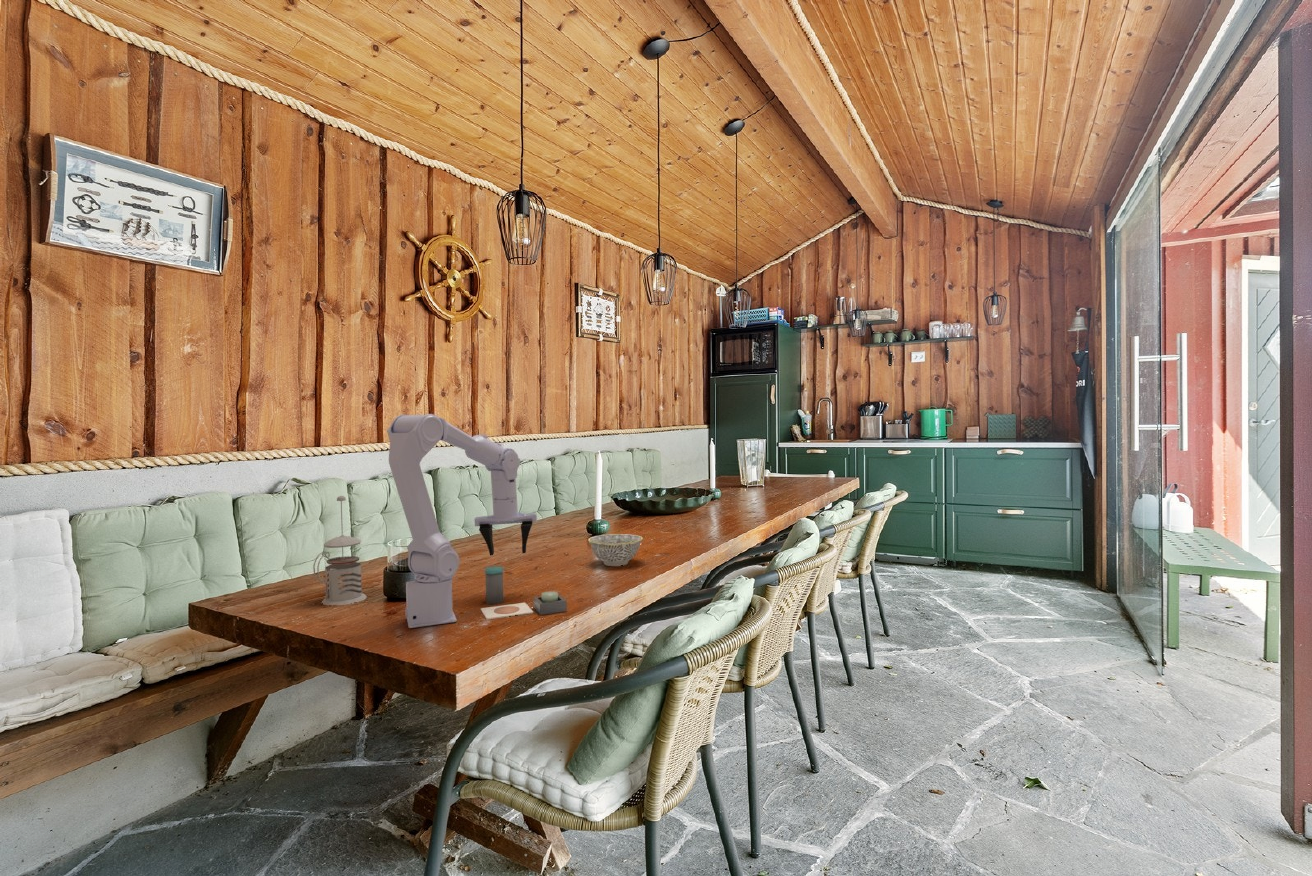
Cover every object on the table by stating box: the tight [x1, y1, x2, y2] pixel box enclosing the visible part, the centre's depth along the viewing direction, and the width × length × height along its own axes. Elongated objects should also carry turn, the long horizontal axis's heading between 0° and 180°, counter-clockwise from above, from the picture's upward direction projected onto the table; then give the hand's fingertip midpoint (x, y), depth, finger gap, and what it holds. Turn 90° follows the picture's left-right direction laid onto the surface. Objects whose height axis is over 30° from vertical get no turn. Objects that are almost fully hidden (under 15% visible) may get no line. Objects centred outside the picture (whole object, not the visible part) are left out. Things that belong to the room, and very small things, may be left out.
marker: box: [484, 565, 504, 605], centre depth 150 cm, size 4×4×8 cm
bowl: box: [587, 533, 644, 567], centre depth 187 cm, size 16×16×8 cm
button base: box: [532, 593, 568, 616], centre depth 143 cm, size 6×6×2 cm
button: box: [541, 590, 559, 603], centre depth 143 cm, size 4×4×2 cm
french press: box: [312, 495, 367, 607], centre depth 152 cm, size 10×12×25 cm
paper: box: [480, 602, 534, 621], centre depth 142 cm, size 10×8×1 cm
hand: (508, 553), depth 155 cm, fingers open, 7 cm apart
